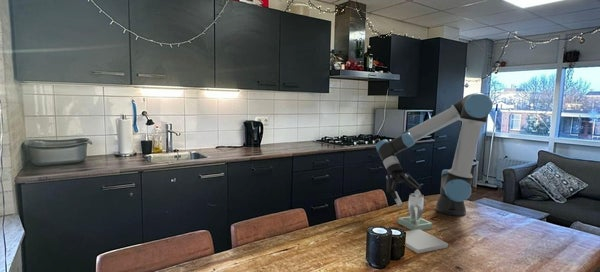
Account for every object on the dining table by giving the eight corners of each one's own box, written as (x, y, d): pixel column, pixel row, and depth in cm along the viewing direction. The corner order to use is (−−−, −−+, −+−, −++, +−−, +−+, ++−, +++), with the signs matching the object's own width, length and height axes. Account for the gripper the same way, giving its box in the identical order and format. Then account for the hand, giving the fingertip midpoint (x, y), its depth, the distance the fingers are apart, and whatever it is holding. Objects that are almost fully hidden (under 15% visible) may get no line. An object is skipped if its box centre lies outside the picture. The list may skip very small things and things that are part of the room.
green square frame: (415, 220, 160) (415, 215, 160) (432, 228, 150) (432, 223, 149) (397, 222, 155) (398, 218, 155) (414, 231, 145) (414, 226, 145)
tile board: (419, 232, 145) (419, 229, 144) (447, 247, 130) (448, 243, 130) (390, 237, 138) (391, 233, 138) (417, 253, 124) (418, 249, 124)
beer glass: (419, 229, 148) (422, 198, 146) (405, 225, 152) (407, 195, 150) (424, 225, 153) (426, 195, 152) (409, 221, 157) (411, 192, 156)
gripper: (407, 169, 173) (426, 204, 161) (369, 171, 163) (386, 209, 151) (415, 161, 167) (435, 197, 155) (376, 163, 158) (394, 202, 146)
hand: (411, 203), depth 153 cm, fingers open, 13 cm apart
